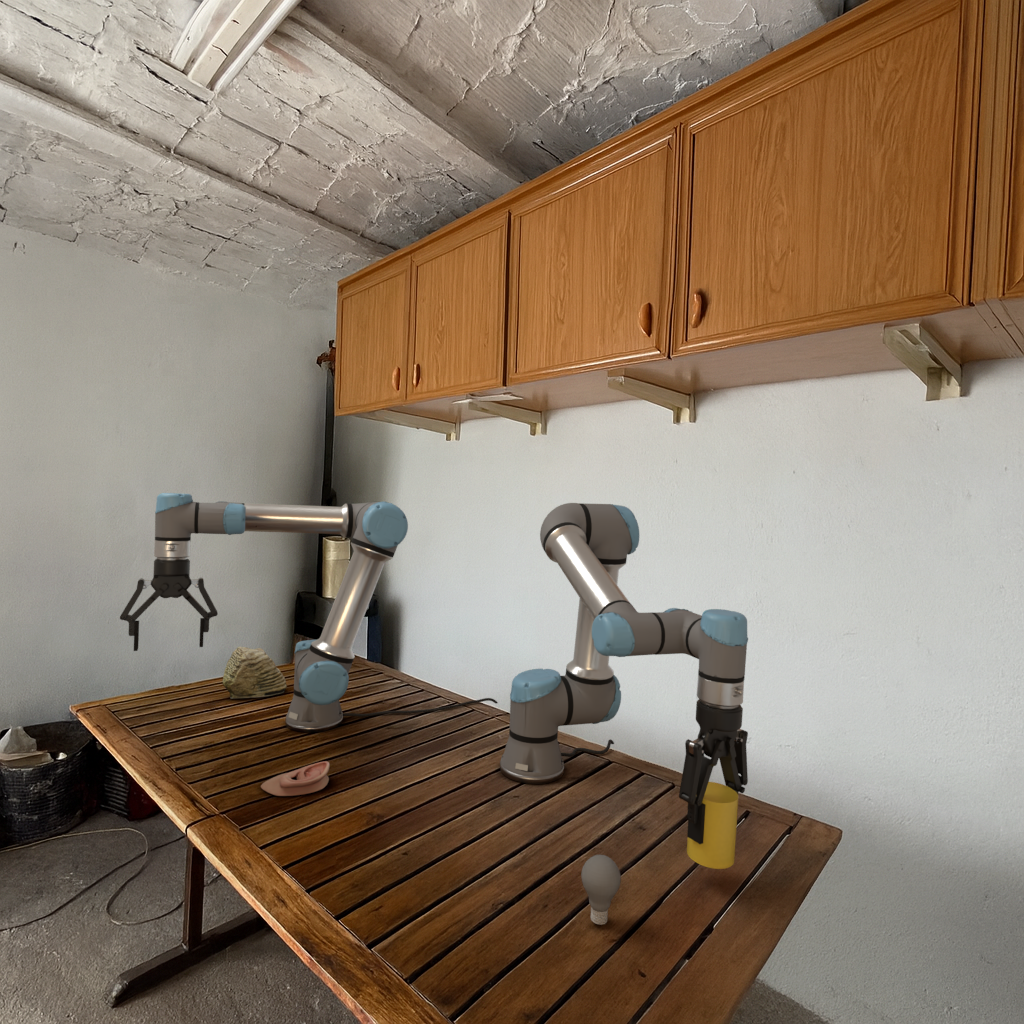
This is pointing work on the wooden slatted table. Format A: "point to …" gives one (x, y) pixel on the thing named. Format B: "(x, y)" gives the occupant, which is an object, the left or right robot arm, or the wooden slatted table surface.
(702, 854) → the canister
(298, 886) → the wooden slatted table surface
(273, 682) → the fossil
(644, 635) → the right robot arm
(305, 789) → the anatomical model
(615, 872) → the light bulb
